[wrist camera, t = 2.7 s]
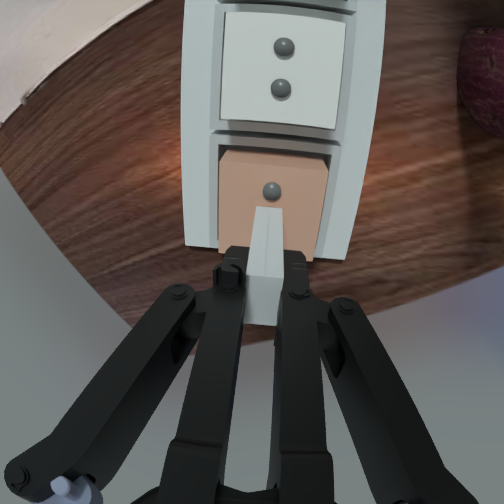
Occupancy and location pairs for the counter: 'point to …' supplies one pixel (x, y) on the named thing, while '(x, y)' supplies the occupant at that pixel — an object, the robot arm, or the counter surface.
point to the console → (275, 133)
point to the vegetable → (483, 76)
